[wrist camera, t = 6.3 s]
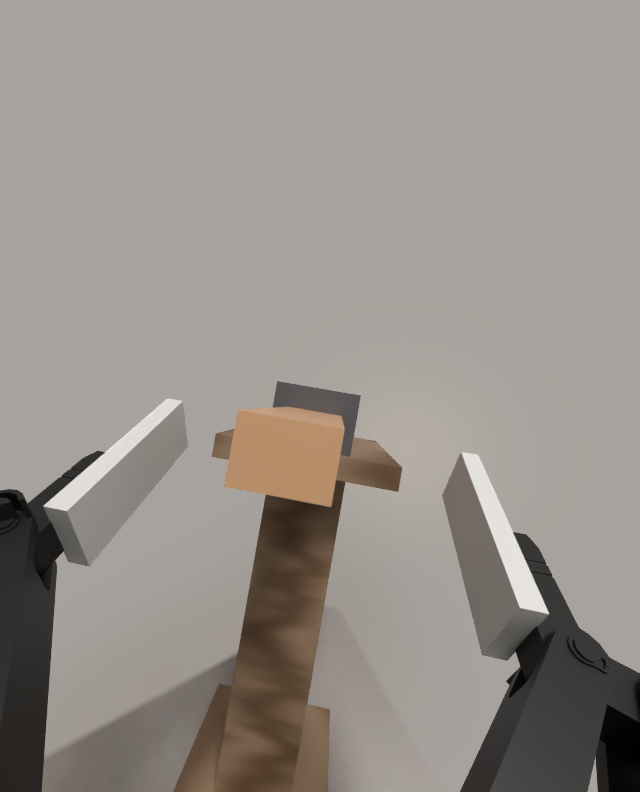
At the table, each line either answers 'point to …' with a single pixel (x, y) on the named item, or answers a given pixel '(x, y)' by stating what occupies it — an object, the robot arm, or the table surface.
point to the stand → (280, 646)
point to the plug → (293, 444)
